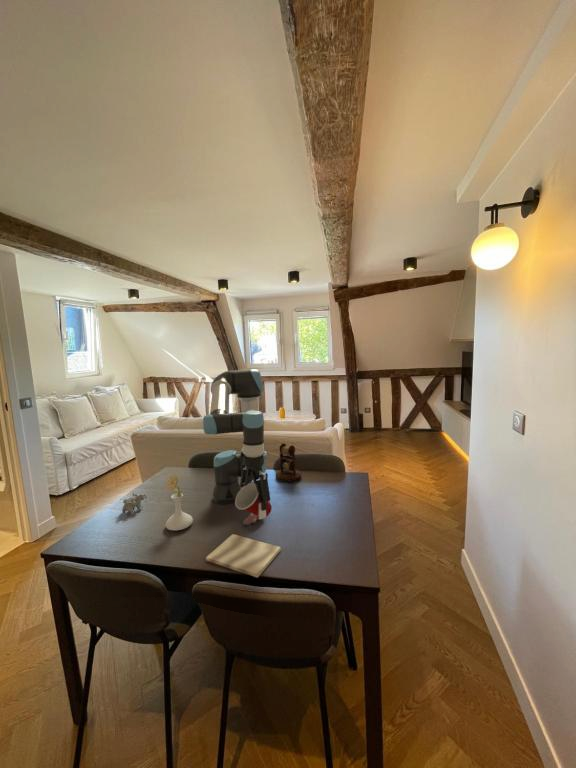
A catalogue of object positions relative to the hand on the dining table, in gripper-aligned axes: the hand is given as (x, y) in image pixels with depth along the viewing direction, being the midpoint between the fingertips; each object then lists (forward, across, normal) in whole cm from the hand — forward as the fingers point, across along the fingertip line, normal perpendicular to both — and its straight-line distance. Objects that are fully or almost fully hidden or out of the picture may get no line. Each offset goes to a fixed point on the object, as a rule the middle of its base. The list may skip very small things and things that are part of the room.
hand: (254, 512), depth 122 cm
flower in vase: (+17, +36, +15) cm, 42 cm away
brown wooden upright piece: (+15, +43, -51) cm, 69 cm away
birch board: (+15, 0, +5) cm, 16 cm away
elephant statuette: (+18, +66, +26) cm, 73 cm away
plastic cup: (+1, 0, -5) cm, 5 cm away
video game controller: (+15, +17, -11) cm, 26 cm away
